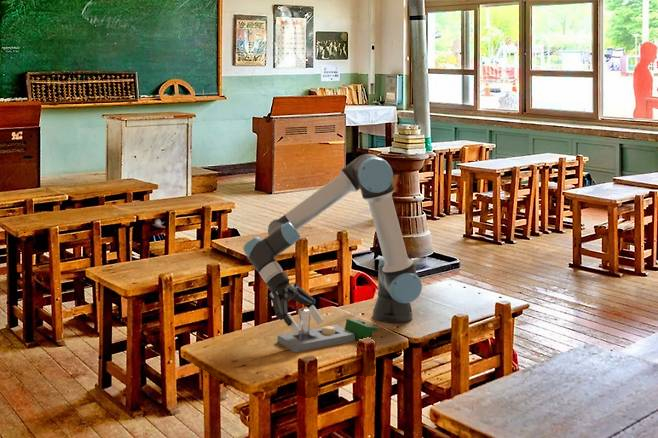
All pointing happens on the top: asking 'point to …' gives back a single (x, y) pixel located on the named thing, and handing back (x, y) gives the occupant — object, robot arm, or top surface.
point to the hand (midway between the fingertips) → (309, 327)
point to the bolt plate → (317, 338)
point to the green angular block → (360, 328)
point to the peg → (304, 324)
